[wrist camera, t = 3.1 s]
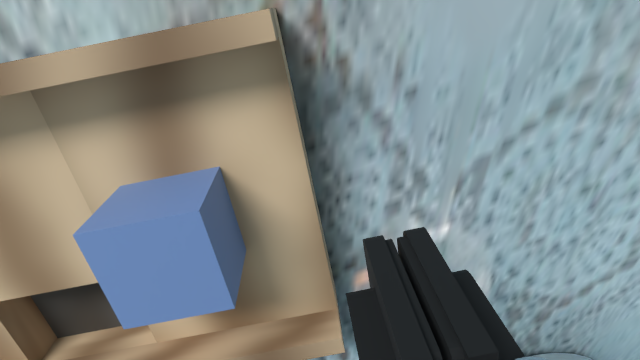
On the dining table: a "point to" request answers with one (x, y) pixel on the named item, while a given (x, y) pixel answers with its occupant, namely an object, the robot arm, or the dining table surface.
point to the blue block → (166, 248)
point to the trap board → (152, 163)
